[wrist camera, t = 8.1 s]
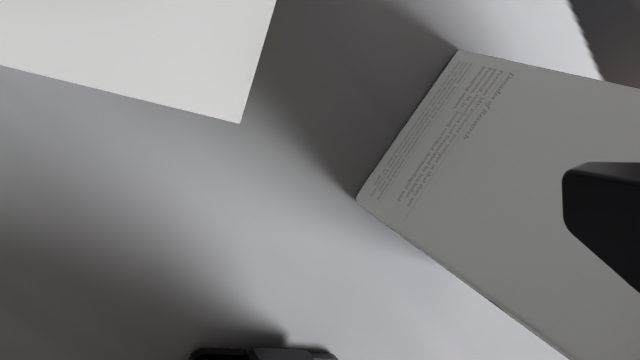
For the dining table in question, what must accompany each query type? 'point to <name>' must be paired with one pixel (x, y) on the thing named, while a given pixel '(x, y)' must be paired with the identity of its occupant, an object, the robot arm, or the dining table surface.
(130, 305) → the dining table surface
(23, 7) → the pale grey box
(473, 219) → the supplement box
